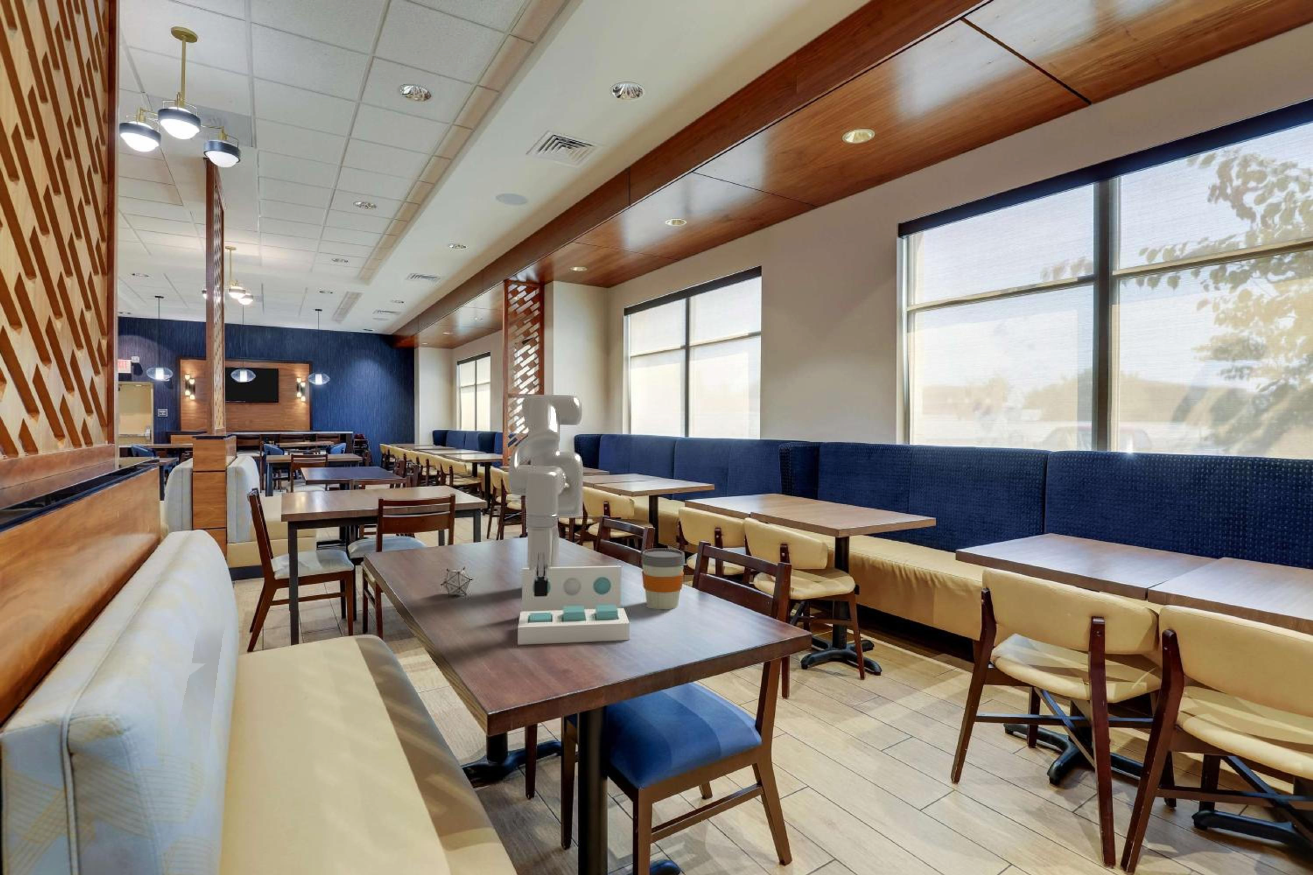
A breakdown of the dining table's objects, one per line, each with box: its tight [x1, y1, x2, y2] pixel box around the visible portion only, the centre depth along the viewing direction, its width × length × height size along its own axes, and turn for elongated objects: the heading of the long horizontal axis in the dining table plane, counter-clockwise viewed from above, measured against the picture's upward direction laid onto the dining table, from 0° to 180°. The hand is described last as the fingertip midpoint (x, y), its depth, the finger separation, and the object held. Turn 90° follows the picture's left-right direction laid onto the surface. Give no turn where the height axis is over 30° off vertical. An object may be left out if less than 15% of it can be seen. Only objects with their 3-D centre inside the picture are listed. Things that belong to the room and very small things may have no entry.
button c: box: [595, 605, 618, 620], centre depth 150 cm, size 5×5×3 cm
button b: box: [563, 606, 585, 621], centre depth 148 cm, size 5×5×3 cm
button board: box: [517, 607, 631, 646], centre depth 148 cm, size 12×26×4 cm, turn 100°
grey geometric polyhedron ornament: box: [440, 566, 474, 598], centre depth 179 cm, size 9×8×10 cm
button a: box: [530, 613, 551, 623], centre depth 147 cm, size 5×5×3 cm
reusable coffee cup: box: [640, 548, 686, 610], centre depth 173 cm, size 13×12×15 cm
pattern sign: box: [521, 565, 622, 612], centre depth 162 cm, size 6×26×13 cm, turn 100°
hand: (540, 595), depth 148 cm, fingers closed
